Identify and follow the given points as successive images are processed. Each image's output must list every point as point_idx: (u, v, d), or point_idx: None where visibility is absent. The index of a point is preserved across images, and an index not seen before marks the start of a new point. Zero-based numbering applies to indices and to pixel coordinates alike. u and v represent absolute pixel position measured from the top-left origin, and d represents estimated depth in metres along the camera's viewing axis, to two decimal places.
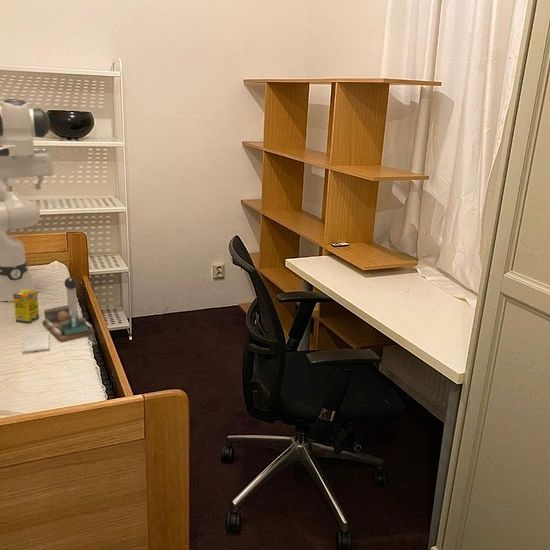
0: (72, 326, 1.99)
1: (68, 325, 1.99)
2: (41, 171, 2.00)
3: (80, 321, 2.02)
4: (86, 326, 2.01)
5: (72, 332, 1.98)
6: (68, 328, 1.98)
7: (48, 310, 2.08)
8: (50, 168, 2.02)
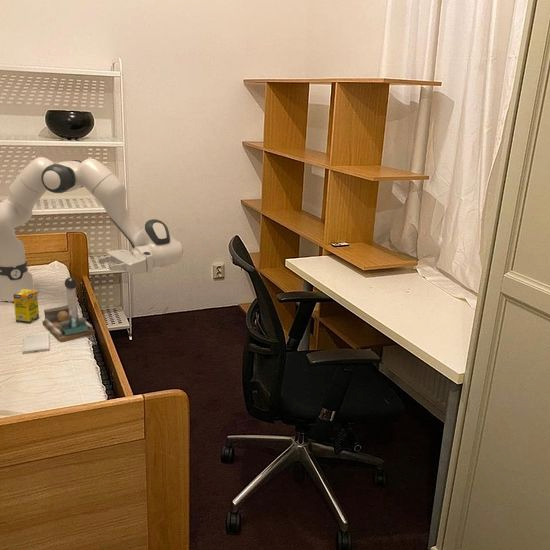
0: (72, 326, 1.99)
1: (68, 325, 1.99)
2: None
3: (80, 321, 2.02)
4: (86, 326, 2.01)
5: (72, 332, 1.98)
6: (68, 328, 1.98)
7: (48, 310, 2.08)
8: None
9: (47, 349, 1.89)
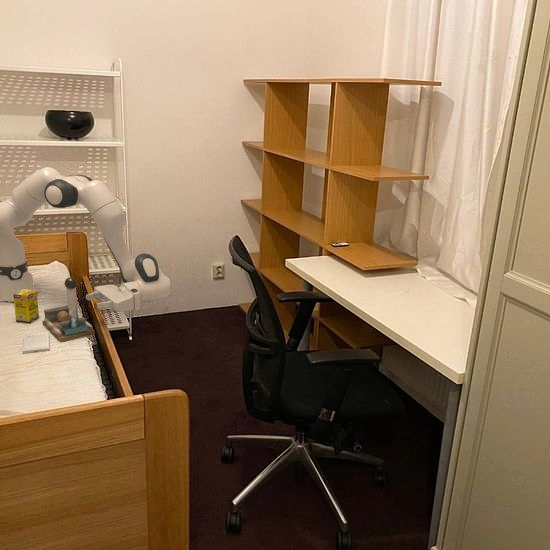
0: (72, 326, 1.99)
1: (68, 325, 1.99)
2: None
3: (80, 321, 2.02)
4: (86, 326, 2.01)
5: (72, 332, 1.98)
6: (68, 328, 1.98)
7: (48, 310, 2.08)
8: None
9: (47, 349, 1.89)
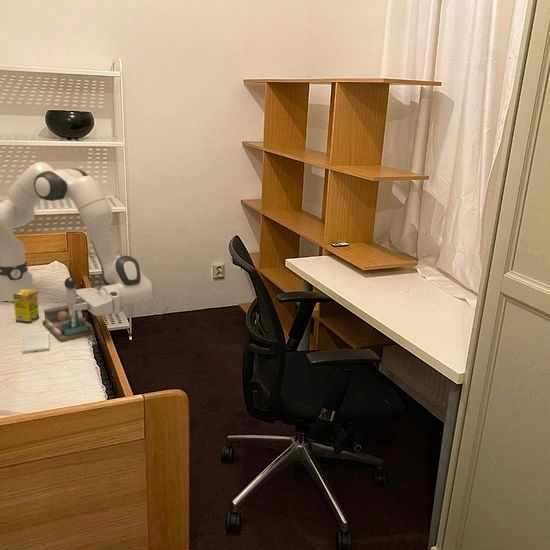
0: (72, 326, 1.99)
1: (68, 325, 1.99)
2: None
3: (80, 321, 2.02)
4: (86, 326, 2.01)
5: (72, 332, 1.98)
6: (68, 328, 1.98)
7: (48, 310, 2.08)
8: None
9: (47, 349, 1.89)
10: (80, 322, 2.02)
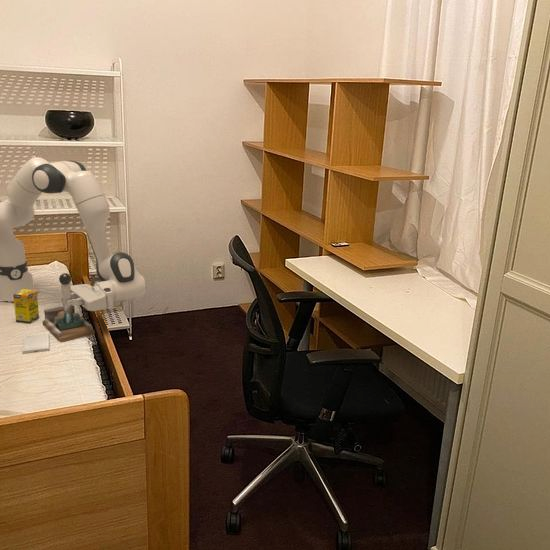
0: (66, 321, 2.03)
1: (63, 320, 2.03)
2: None
3: (74, 316, 2.06)
4: (80, 321, 2.05)
5: (66, 327, 2.02)
6: (63, 323, 2.02)
7: (48, 310, 2.08)
8: None
9: (47, 349, 1.89)
10: (74, 317, 2.06)
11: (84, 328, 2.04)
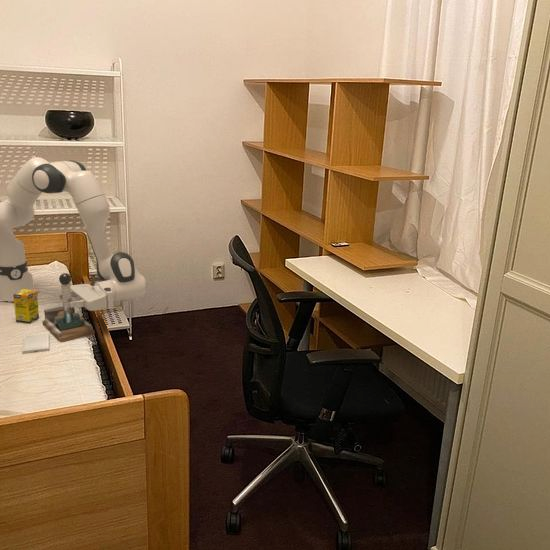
0: (66, 321, 2.03)
1: (63, 320, 2.03)
2: None
3: (74, 316, 2.06)
4: (80, 321, 2.05)
5: (66, 327, 2.02)
6: (63, 323, 2.02)
7: (48, 310, 2.08)
8: None
9: (47, 349, 1.89)
10: (74, 317, 2.06)
11: (84, 328, 2.04)
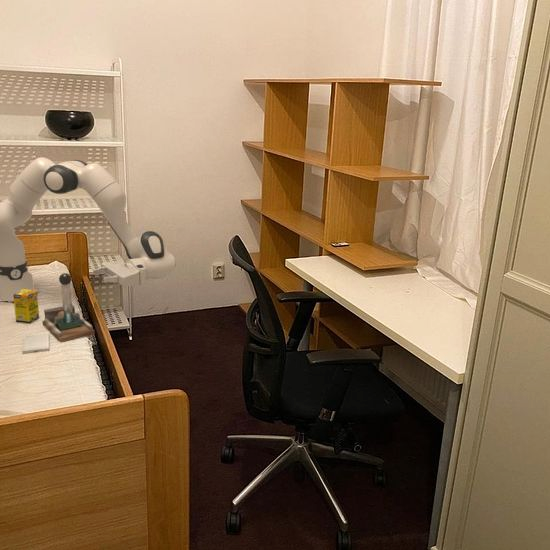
0: (66, 321, 2.03)
1: (63, 320, 2.03)
2: None
3: (74, 316, 2.06)
4: (80, 321, 2.05)
5: (66, 327, 2.02)
6: (63, 323, 2.02)
7: (48, 310, 2.08)
8: None
9: (47, 349, 1.89)
10: (74, 317, 2.06)
11: (84, 328, 2.04)
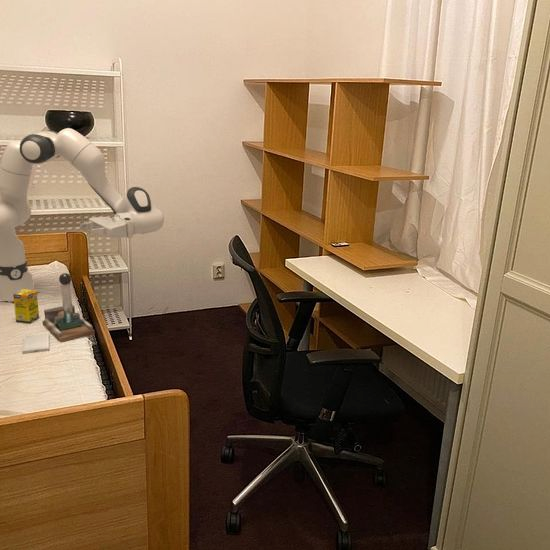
0: (66, 321, 2.03)
1: (63, 320, 2.03)
2: None
3: (74, 316, 2.06)
4: (80, 321, 2.05)
5: (66, 327, 2.02)
6: (63, 323, 2.02)
7: (48, 310, 2.08)
8: None
9: (47, 349, 1.89)
10: (74, 317, 2.06)
11: (84, 328, 2.04)
